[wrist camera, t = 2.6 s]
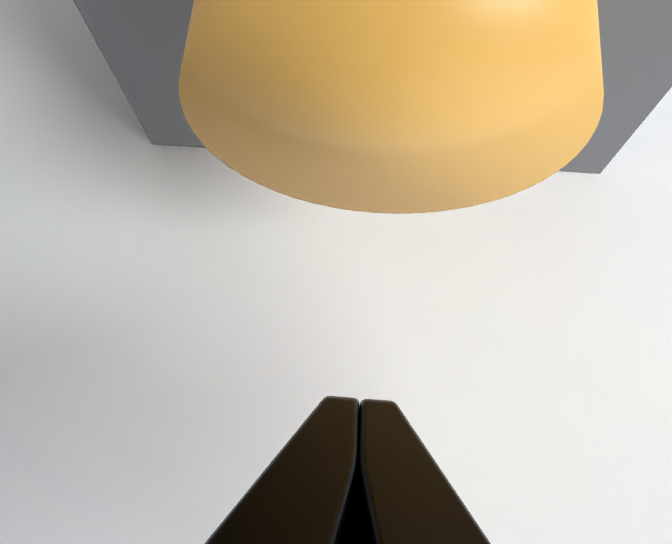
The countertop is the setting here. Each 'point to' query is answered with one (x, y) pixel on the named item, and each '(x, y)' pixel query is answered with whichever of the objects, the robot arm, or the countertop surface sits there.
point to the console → (173, 129)
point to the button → (393, 96)
